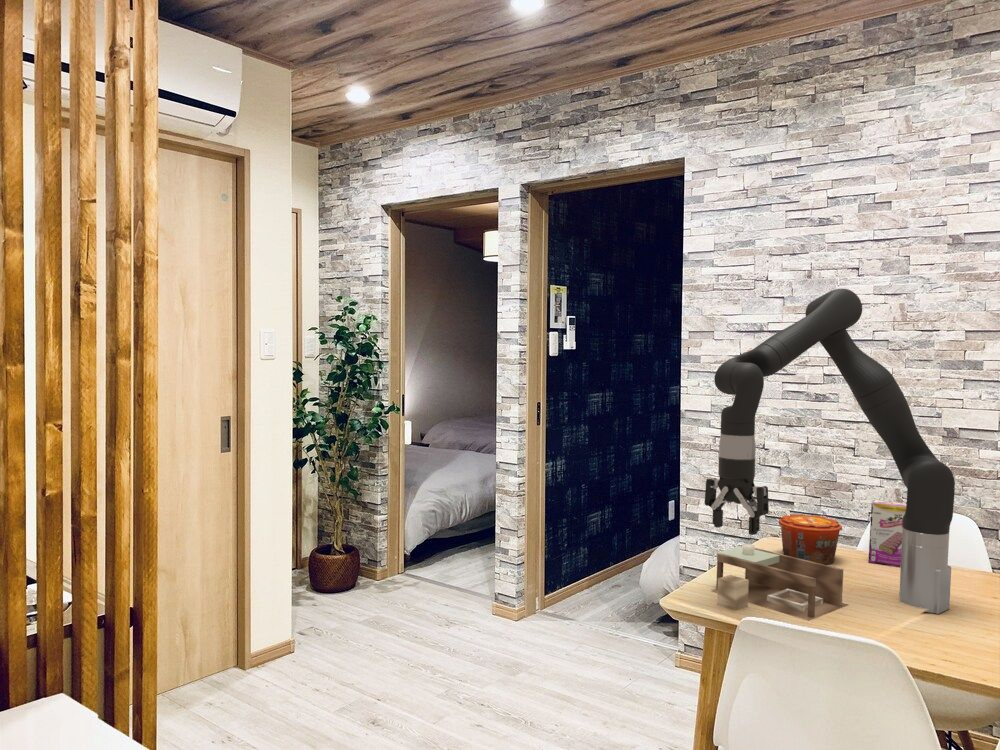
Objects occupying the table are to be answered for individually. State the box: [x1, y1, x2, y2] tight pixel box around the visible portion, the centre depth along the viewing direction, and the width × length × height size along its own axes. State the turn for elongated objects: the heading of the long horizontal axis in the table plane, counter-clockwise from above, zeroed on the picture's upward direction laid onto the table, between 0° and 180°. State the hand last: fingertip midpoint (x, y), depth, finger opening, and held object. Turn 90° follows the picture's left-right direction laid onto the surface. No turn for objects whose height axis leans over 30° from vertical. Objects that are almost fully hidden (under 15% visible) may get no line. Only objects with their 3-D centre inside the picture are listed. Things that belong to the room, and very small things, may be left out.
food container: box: [778, 513, 843, 566], centre depth 216 cm, size 16×16×11 cm
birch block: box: [716, 574, 749, 612], centre depth 172 cm, size 5×5×6 cm
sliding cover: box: [716, 543, 780, 566], centre depth 185 cm, size 10×10×4 cm
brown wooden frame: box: [711, 547, 850, 622], centre depth 179 cm, size 24×17×9 cm
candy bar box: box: [868, 499, 907, 567], centre depth 212 cm, size 11×5×16 cm, turn 59°
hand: (735, 530), depth 171 cm, fingers open, 8 cm apart
